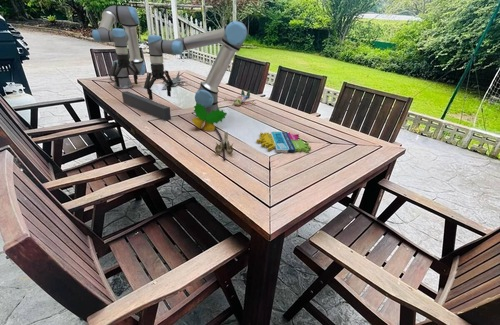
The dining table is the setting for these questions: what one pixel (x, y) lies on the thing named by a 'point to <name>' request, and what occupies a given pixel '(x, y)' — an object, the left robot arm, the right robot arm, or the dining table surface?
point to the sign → (283, 142)
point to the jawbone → (224, 145)
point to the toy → (241, 99)
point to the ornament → (207, 117)
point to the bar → (147, 105)
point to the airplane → (175, 81)
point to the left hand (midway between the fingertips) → (127, 85)
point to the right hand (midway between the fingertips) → (160, 97)
